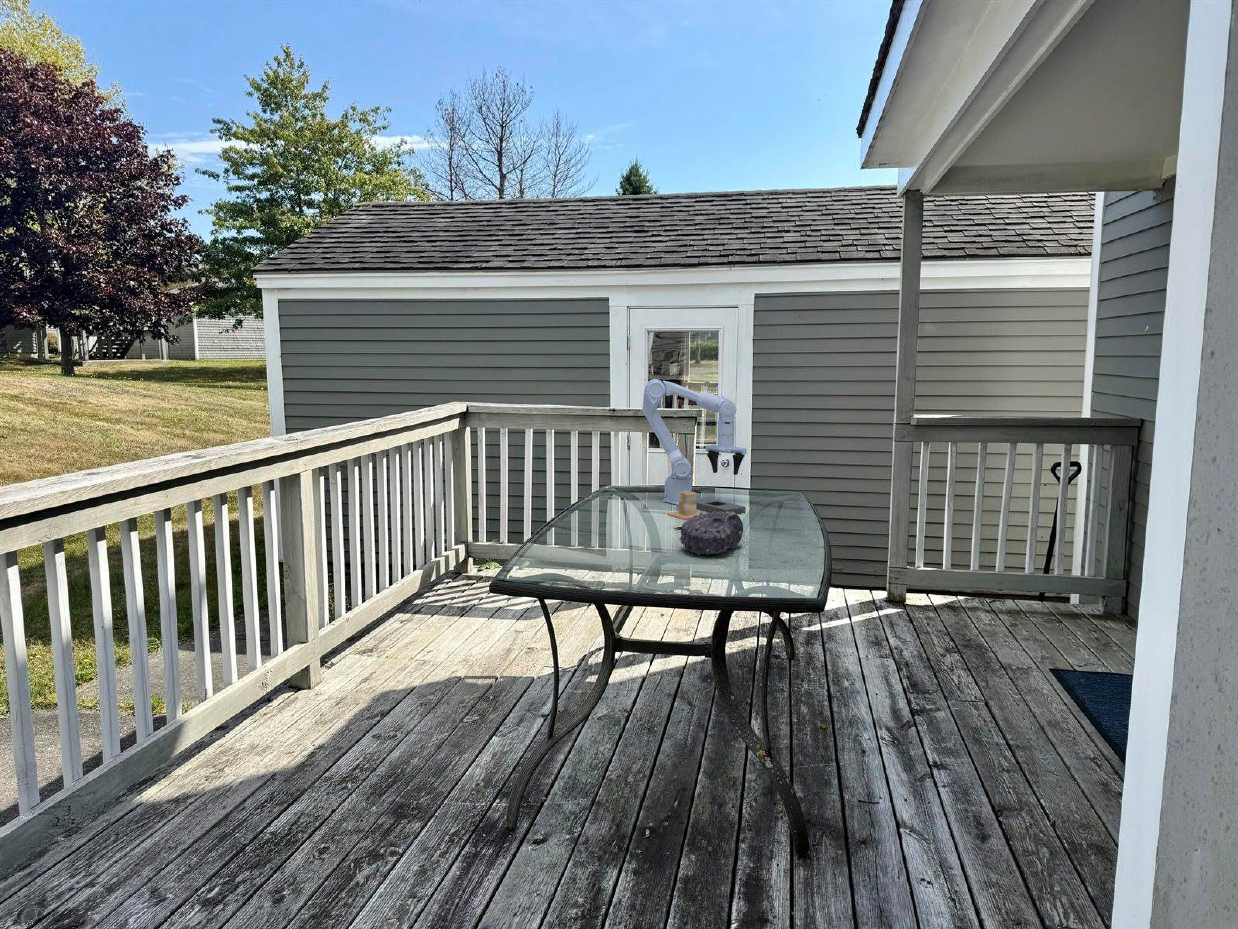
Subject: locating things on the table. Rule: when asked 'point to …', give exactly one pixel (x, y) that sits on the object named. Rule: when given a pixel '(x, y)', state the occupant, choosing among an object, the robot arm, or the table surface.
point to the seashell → (712, 532)
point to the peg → (687, 503)
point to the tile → (680, 516)
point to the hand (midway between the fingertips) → (725, 473)
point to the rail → (718, 506)
